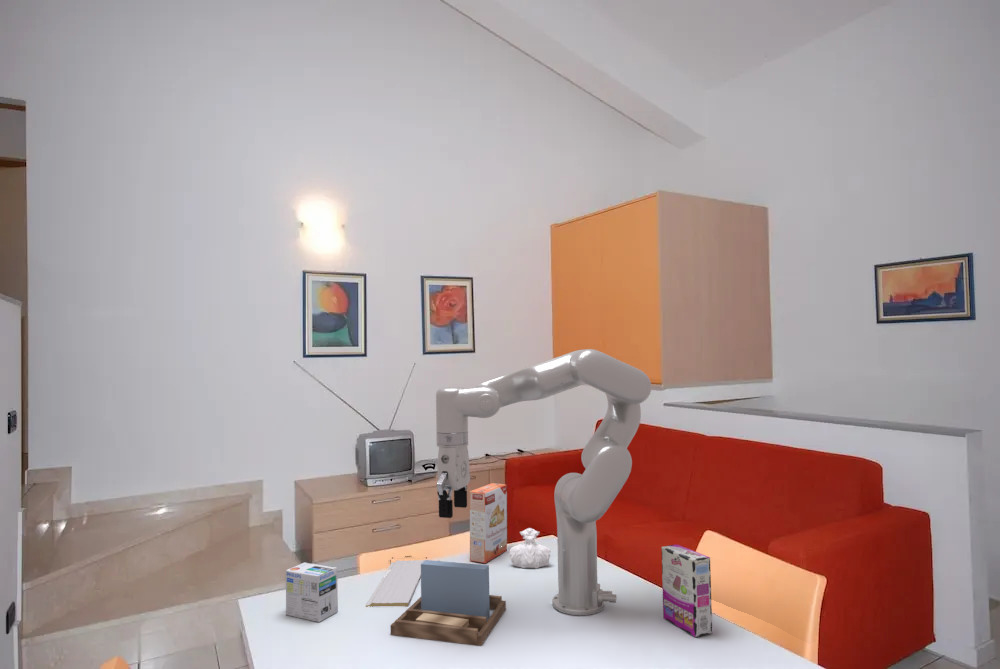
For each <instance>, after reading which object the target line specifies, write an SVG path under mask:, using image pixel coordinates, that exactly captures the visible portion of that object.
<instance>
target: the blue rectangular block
mask: <svg viewBox="0 0 1000 669" xmlns="http://www.w3.org/2000/svg"><path fill="white" fill-rule="evenodd" d="M489 595H490V565H489V564H481V563H480V564H477V563H467V562H454V561H441V560H432V559H431V560H430V559H425V561H424V562H423V563H421V577H420V597H421V610H427V611H436V612H446V613H455V614H464V615H473V616H483V617H487V620H488V619H489V618H490V616H491V614H490V611H491V609H490V601H489Z"/></svg>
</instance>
